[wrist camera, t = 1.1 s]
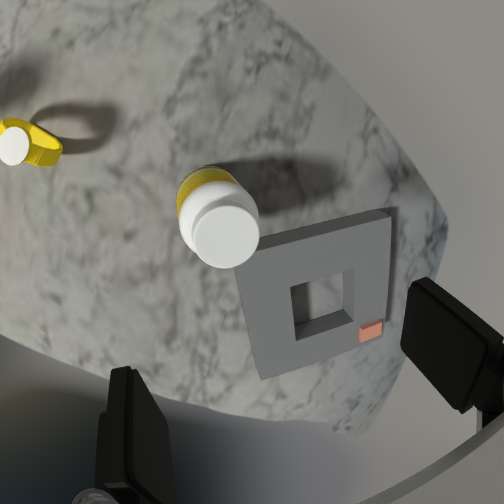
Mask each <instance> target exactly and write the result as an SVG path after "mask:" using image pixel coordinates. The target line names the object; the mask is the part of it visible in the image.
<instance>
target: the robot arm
mask: <svg viewBox="0 0 504 504" xmlns="http://www.w3.org/2000/svg"><path fill="white" fill-rule="evenodd" d="M503 339H504V337H503V336H502V335H500V334H499V333H498V332H497V331H495V329H493V328H492V327H491V326H490V325H488V324H487V323H486V322H485V321H484V320H482V319H481V318H480V317H479V316H477V315H476V314H475V313H474V312H472V311H471V310H470V309H469V308H467V307H466V306H465V305H463V304H462V303H461V302H460V301H458V300H457V299H456V298H455V297H453V296H452V295H450V294H449V293H448V292H447V291H445V290H444V289H443V288H442V287H440V286H439V285H438V284H436V283H435V282H434V281H432V280H431V279H430V278H428V277H423V278H421V279H418V280H416V281H414V282H412V283H411V286H410V287H409V289H408V294H407V302H406V310H405V317H404V323H403V330H402V336H401V342H400V345H401V349H402V351H403V352H404V353H405V354H406V356H407V357H408V358H409V359H410V360H411V361H412V362H413V363H414V364H415V366H416V367H417V368H418V369H419V370H420V371H421V372H422V373H423V374H424V376H425V377H426V378H427V379H428V380H429V381H430V382H431V384H432V385H433V386H434V387H435V388H436V389H437V390H438V392H439V393H440V394H441V395H442V396H443V397H444V398H445V400H446V401H447V402H448V403H449V404H450V405H451V407H452V408H454V409H456V410H459V412H460V413H461V414H463V413H465V412H466V411H468V410H469V409H470V408H472V407H473V405H474V406H475V407H476V408H477V430H476V432H477V433H476V434H475V435H474V436H472V437H471V438H470V439H468V440H467V441H466V442H464V443H463V444H461V445H460V446H459V447H457V448H456V449H454V450H453V451H451V452H450V453H448V454H447V455H445V456H444V457H442V458H441V459H439V460H437V461H436V462H434V463H433V464H431V465H430V466H428V467H426V468H425V469H423V470H421V471H420V472H418V473H416V474H414V475H413V476H411V477H409V478H408V479H406V480H404V481H402V482H400V483H398V484H396V485H395V486H393V487H391V488H389V489H387V490H385V491H383V492H381V493H379V494H377V495H375V496H373V497H371V498H368V499H367V500H364V501H362V502H360V503H357V504H504V344H503V343H502V342H503ZM72 504H178V501H177V495H176V487H175V480H174V474H173V465H172V457H171V449H170V440H169V429H168V424H167V421H166V419H165V417H164V415H163V414H162V412H161V411H160V409H159V407H158V405H157V404H156V402H155V400H154V399H153V397H152V395H151V393H150V392H149V390H148V388H147V386H146V385H145V383H144V381H143V379H142V377H141V376H140V374H139V372H138V370H137V369H134V370H132V369H131V367H130V366H125V367H120V368H115V369H112V370H111V375H110V384H109V392H108V403H107V411H105V412H102V413H101V414H100V417H99V425H98V437H97V450H96V468H95V489H89V490H85V491H83V492H81V493H80V494H79V495H78V496H77V497H76V498H75V500H74V501H73V503H72Z"/></svg>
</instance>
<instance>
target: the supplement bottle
mask: <svg viewBox="0 0 504 504" xmlns="http://www.w3.org/2000/svg"><path fill="white" fill-rule="evenodd" d="M176 200H177V201H176V202H177V211H178V221H179V227H180V231H181V235H182V237H183V239H184V241H185V242H186V244H187V245H188V246H189V247H190V248H191V249H192V250H193V251H194V252H195V253H197V254H198V256H199V257H200V258H201V259H202V260H203V261H204V262H205V263H207V264H209V265H211V266H213V267H217V268H232V267H236V266H238V265H240V264H242V263H244V262H245V261H247V260H248V259H249V258H250V257H251V256H252V255H253V253H254V252H255V250H256V248H257V246H258V243H259V237H260V232H259V226H258V224H259V214H258V209H257V206H256V204H255V202H254V200H253V198H252V197H251V195H250V194H249V193H248V192H247V191H246V190H245V189H244V188H243V187H242V186H241V185H240V184H239V183H238V182H237V181H236V180H235V179H234V177H233V176H232V175H231V174H229V173H228V172H227V171H225V170H224V169H221V168H219V167H215V166H203V167H199V168H197V169H194V170H193V171H191V172H190V173H188V174H187V175H186V176H185V177H184V178H183V180H182V181H181V183H180V185H179V187H178V191H177V196H176Z"/></svg>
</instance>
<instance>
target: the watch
mask: <svg viewBox="0 0 504 504" xmlns="http://www.w3.org/2000/svg"><path fill="white" fill-rule="evenodd" d="M62 151H63V145H62V144H61V143H60V142H59V140H58V139H57V138H56V137H53V136H51V135H50V134H48V133H46V132H45V131H43V130H42V129H40V128H38V127H37V126H35V125H33V124H31V123H29V122H26V121H24V120H20V119H16V118H5V119H3V120H2V121H1V123H0V158H1V160H2V161H3V162H4V163H5V164H8V165H17V164H20V163H22V162H23V161H25V162H27V163H30V164H33V165H34V164H35V165H36V166H43V167H50V166H53V165H56V163H57V161H58V159H59V157H60V155H61V153H62Z"/></svg>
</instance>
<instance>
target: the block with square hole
mask: <svg viewBox="0 0 504 504" xmlns="http://www.w3.org/2000/svg"><path fill="white" fill-rule="evenodd" d="M390 250H391V216H390V215H388V214H386V213H384V212H382V211H380V210H379V209H376V210H371V211H367V212H363V213H359V214H355V215H351V216H347V217H342V218H338V219H334V220H330V221H326V222H322V223H318V224H314V225H310V226H306V227H301V228H297V229H293V230H289V231H285V232H281V233H277V234H273V235H269V236H265V237H261V238H259V243H258V246H257V248H256V250H255V252H254V253H253V255H252V256H251V257H250V258H249V259H248V260H247V261H245V262H244V263H242V264H240V265H238V266H236V267H234V270H235V275H236V279H237V284H238V289H239V293H240V298H241V303H242V307H243V312H244V316H245V321H246V326H247V330H248V335H249V339H250V344H251V348H252V353H253V357H254V361H255V366H256V369H257V371H258V374H259V376H260V379H261V380H265V379H268V378H271V377H275V376H278V375H281V374H284V373H287V372H290V371H293V370H296V369H300V368H302V367H305V366H308V365H311V364H314V363H317V362H320V361H323V360H325V359H328V358H331V357H334V356H336V355H339V354H342V353H344V352H347V351H349V350H352V349H355V348H357V347H360V346H362V345H365V344H367V343H370V342H372V341H374V340H377V339H379V338H382V337H383V333H384V325H385V316H386V306H387V296H388V283H389V269H390ZM342 271H343V281H344V309H343V310H340V311H337V312H334V313H332V314H329V315H326V316H323V317H320V318H317V319H313V320H310V321H307V322H304V323H301V324H298V325H295V326H294V319H293V310H292V301H291V292H290V287H292V286H295V285H298V284H302V283H305V282H309V281H312V280H315V279H319V278H322V277H325V276H329V275H332V274H335V273H339V272H342Z"/></svg>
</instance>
